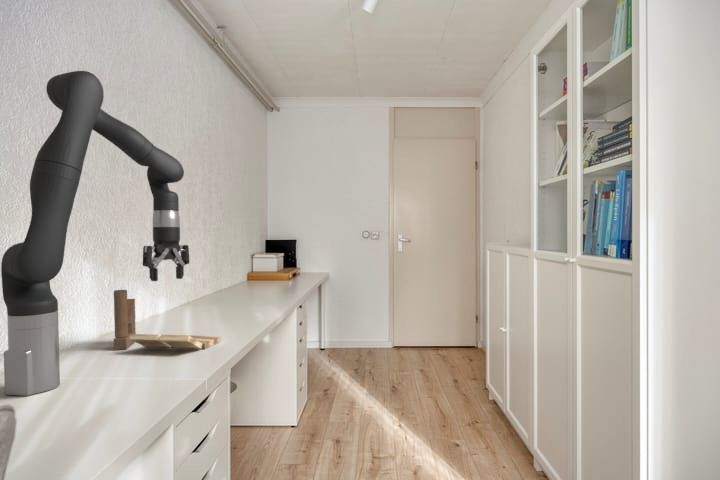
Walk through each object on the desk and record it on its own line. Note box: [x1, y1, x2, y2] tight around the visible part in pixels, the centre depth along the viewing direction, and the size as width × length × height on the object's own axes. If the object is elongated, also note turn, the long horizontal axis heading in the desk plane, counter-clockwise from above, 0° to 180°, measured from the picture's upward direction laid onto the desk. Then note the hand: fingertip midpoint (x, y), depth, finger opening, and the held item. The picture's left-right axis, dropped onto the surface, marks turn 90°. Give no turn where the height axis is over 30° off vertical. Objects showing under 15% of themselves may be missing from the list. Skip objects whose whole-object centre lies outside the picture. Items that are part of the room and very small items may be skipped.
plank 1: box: [129, 333, 172, 349], centre depth 131 cm, size 8×9×2 cm
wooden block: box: [113, 289, 137, 351], centre depth 138 cm, size 4×11×18 cm, turn 13°
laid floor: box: [148, 334, 222, 350], centre depth 139 cm, size 10×20×2 cm, turn 79°
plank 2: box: [160, 334, 202, 350], centre depth 129 cm, size 8×9×2 cm
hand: (167, 279), depth 133 cm, fingers open, 8 cm apart
